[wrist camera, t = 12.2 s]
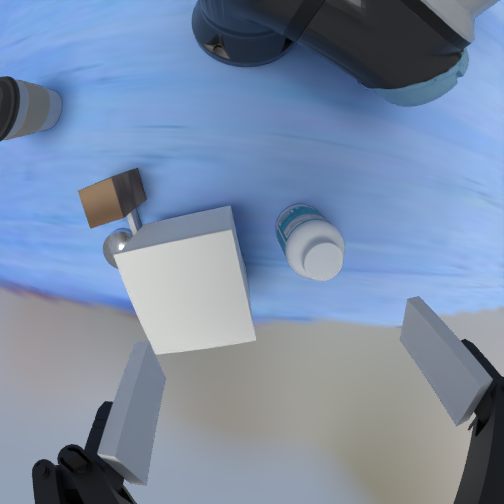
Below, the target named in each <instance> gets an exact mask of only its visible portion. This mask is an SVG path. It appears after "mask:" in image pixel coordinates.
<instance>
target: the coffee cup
mask: <svg viewBox="0 0 504 504" xmlns="http://www.w3.org/2000/svg"><path fill="white" fill-rule="evenodd" d="M61 111H62V100H61V97H60V95H59V94H58V93H57V92H56V91H54V90H50V89H47V88H44V87H43V86H40V85H36V84H33V83H29V82H25V81H22V80H14V79H13V78H12V77H8V76H7V77H0V141H2V140H8V139H12V138H16V137H20V136H25V135H29V134H33V133H35V132H39V131H44V130H48V129H50V128H51V127H53V126H54V125H55V124H56V122H57V121H58V119H59V117H60V114H61Z"/></svg>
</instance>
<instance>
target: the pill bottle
mask: <svg viewBox="0 0 504 504" xmlns="http://www.w3.org/2000/svg"><path fill="white" fill-rule="evenodd" d="M276 236H277V238H278V241H279V243H280V245H281V247H282V249H283V252H284V254H285V256H286V259H287V261H288V263H289V265H290V267H291V268H292V269H293V270H294V271H295V272H296V273H297V274H299V275H300V276H302V277H305V278H310V279H314V280H317V281H325V280H329V279H331V278H333V277H334V276H335V275H337V274H338V273H339V271H340V270H341V268H342V265H343V256H344V249H345V245H344V240H343V237H342V235H341V233H340V232H339V231H338V229H337V228H336V227H334V226H333V225H332V224H331V223H330V222H329V221H328V220H327V219H326V218H325V217H323V216H322V215H321V214H320V213H319V212H318V211H317V210H315V209H314V208H313V207H311V206H308V205H304V204H297V205H293V206H290V207H288V208H287V209H285V210H284V211H283V212H282V213H281V214H280V216H279V218H278V220H277V223H276Z"/></svg>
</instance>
